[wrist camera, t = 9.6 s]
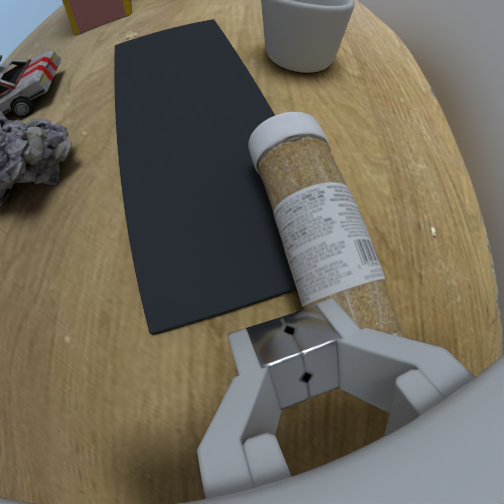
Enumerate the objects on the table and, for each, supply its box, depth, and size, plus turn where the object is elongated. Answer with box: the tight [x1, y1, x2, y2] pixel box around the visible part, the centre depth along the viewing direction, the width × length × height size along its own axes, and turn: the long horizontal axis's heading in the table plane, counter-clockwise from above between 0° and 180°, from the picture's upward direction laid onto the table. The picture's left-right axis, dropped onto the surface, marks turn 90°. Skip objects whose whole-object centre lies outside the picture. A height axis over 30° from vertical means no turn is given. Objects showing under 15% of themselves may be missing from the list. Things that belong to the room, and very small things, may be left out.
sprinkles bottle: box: [248, 112, 405, 338], centre depth 16 cm, size 5×4×13 cm
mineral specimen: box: [0, 111, 72, 205], centre depth 17 cm, size 12×9×10 cm
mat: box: [115, 19, 297, 335], centre depth 22 cm, size 32×12×1 cm, turn 19°
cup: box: [261, 0, 354, 73], centre depth 22 cm, size 11×8×8 cm
